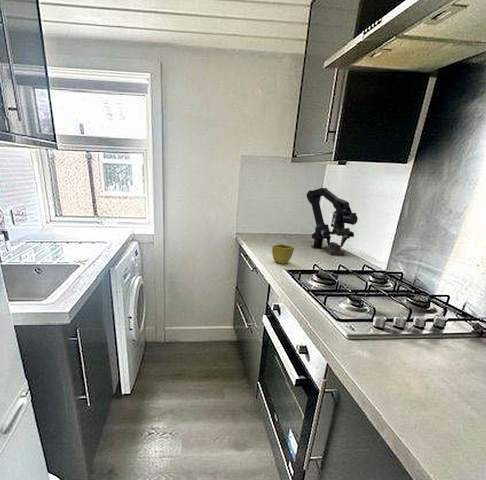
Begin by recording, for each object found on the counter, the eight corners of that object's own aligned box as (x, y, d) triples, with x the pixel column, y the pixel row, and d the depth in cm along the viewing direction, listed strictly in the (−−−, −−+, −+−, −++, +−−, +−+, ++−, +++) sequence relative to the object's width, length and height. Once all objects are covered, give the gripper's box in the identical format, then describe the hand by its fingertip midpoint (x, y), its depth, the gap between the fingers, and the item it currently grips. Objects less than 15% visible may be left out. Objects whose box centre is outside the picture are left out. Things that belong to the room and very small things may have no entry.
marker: (328, 246, 197) (329, 241, 196) (333, 246, 197) (334, 241, 196) (334, 250, 186) (335, 245, 185) (339, 251, 186) (340, 245, 185)
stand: (324, 249, 199) (324, 245, 198) (336, 250, 198) (337, 246, 197) (330, 255, 185) (331, 251, 184) (344, 255, 185) (344, 251, 184)
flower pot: (279, 259, 171) (280, 243, 168) (292, 262, 165) (294, 246, 162) (270, 261, 165) (271, 245, 162) (283, 265, 159) (285, 249, 156)
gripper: (328, 223, 178) (323, 249, 183) (360, 225, 177) (354, 250, 183) (322, 220, 189) (318, 244, 194) (352, 222, 188) (348, 246, 193)
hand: (334, 246), depth 190 cm, fingers open, 7 cm apart
